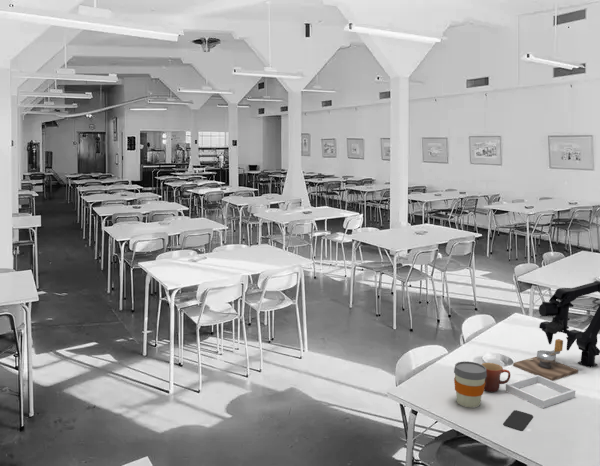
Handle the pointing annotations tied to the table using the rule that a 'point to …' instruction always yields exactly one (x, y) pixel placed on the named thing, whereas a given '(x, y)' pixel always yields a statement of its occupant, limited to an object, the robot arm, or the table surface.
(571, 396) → the tray frame
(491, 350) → the table surface
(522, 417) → the phone
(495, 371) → the mug
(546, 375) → the base plate
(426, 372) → the table surface
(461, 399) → the reusable coffee cup
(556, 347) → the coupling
